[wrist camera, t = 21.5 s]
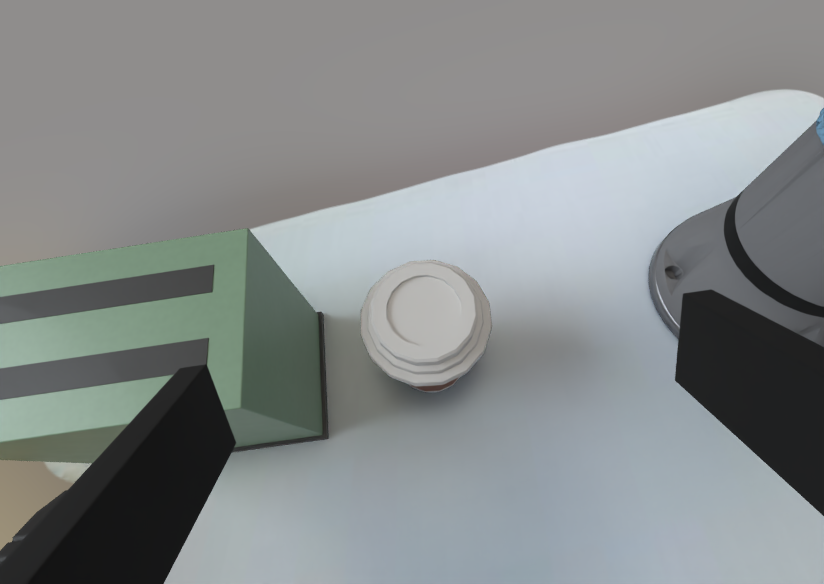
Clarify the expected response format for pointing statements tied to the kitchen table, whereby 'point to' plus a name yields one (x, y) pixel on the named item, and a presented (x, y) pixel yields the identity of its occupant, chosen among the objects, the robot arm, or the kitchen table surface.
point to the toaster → (155, 344)
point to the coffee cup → (426, 324)
